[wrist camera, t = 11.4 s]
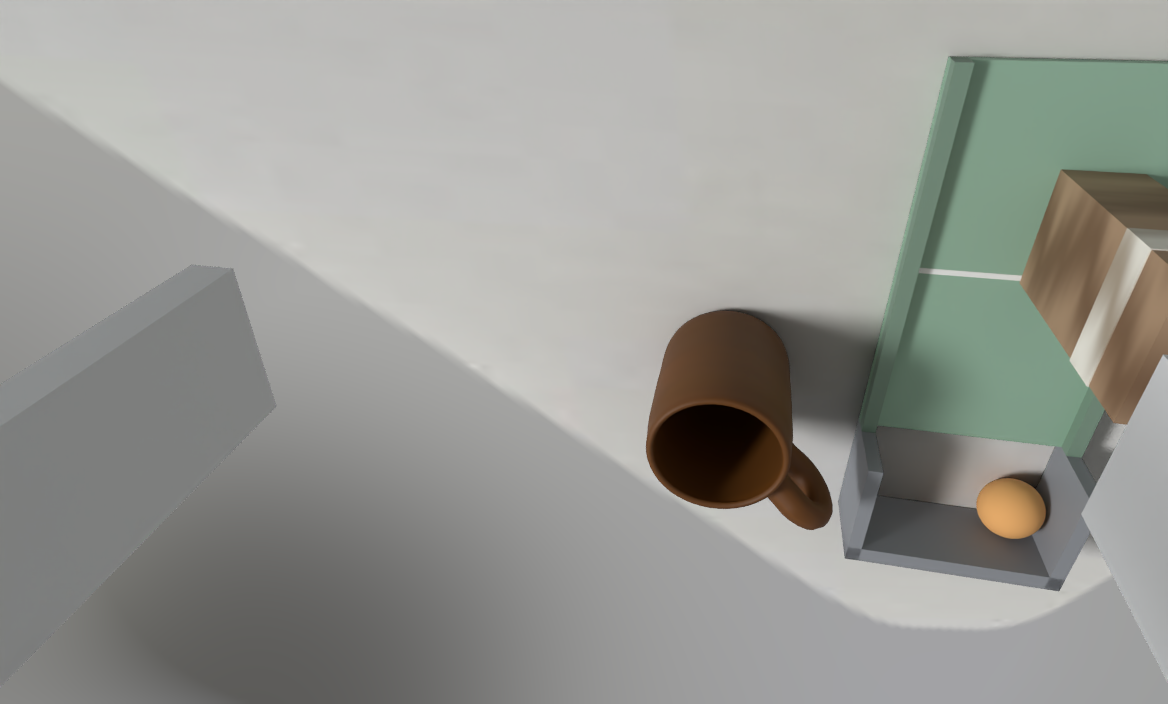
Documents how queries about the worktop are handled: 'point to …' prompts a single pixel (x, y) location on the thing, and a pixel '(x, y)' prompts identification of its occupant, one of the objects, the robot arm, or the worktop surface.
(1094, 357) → the block
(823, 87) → the worktop surface
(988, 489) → the ball
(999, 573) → the pitch
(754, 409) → the mug
